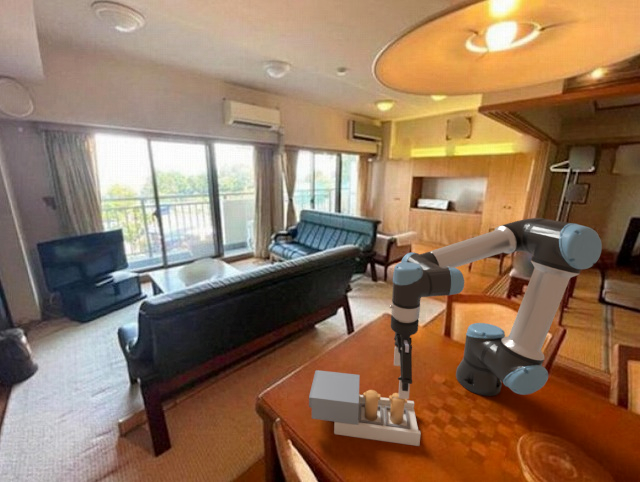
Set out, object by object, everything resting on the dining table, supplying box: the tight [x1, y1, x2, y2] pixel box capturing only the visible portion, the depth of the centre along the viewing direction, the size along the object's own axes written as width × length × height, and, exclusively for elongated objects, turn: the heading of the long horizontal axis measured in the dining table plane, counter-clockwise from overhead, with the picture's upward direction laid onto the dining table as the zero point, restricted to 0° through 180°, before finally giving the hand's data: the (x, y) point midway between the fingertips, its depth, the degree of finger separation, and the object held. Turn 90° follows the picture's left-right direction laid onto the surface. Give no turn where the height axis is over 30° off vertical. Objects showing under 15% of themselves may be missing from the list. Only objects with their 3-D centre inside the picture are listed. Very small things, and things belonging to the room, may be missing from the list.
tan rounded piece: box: [362, 389, 381, 421], centre depth 88 cm, size 5×4×8 cm
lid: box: [308, 369, 360, 425], centre depth 90 cm, size 15×12×8 cm
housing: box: [333, 394, 422, 447], centre depth 89 cm, size 25×12×4 cm, turn 81°
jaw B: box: [388, 392, 408, 425], centre depth 87 cm, size 5×4×8 cm
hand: (400, 380), depth 85 cm, fingers open, 13 cm apart
